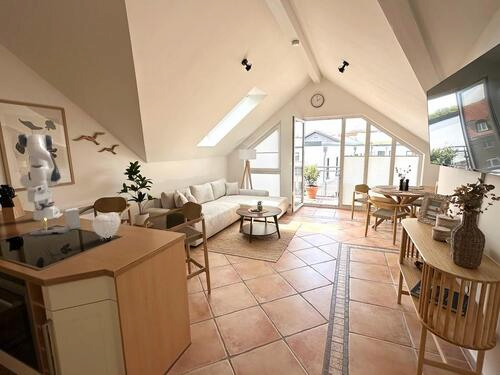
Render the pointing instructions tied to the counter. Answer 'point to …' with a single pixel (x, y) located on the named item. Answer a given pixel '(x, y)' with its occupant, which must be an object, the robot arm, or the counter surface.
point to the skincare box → (72, 218)
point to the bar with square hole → (50, 231)
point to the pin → (44, 223)
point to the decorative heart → (106, 224)
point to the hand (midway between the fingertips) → (42, 206)
